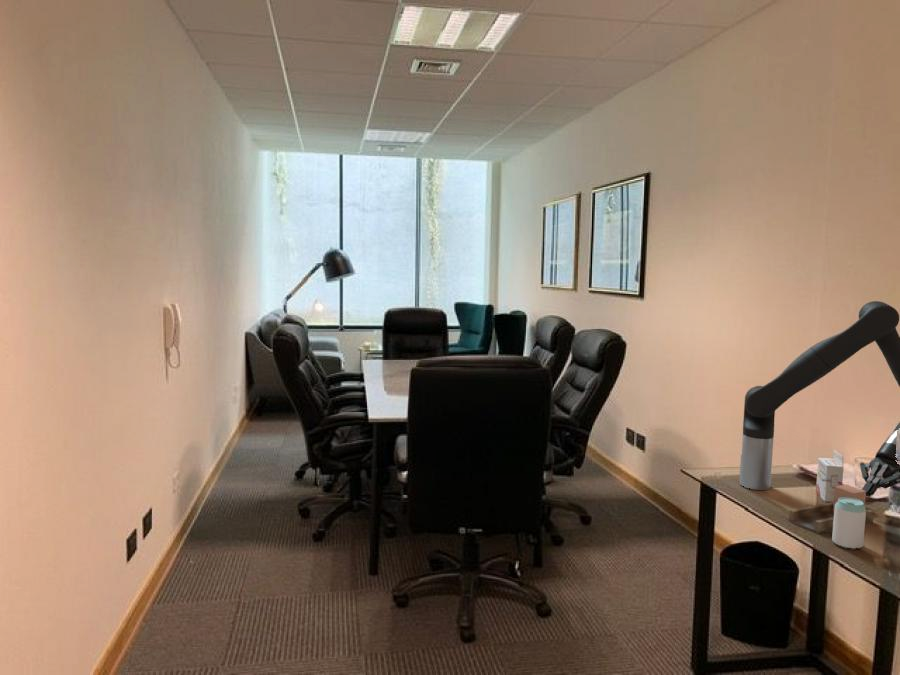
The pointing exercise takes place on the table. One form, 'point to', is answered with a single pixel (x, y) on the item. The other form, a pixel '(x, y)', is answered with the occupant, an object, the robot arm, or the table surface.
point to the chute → (819, 517)
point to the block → (848, 493)
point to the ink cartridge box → (829, 476)
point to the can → (849, 523)
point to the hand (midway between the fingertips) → (865, 494)
